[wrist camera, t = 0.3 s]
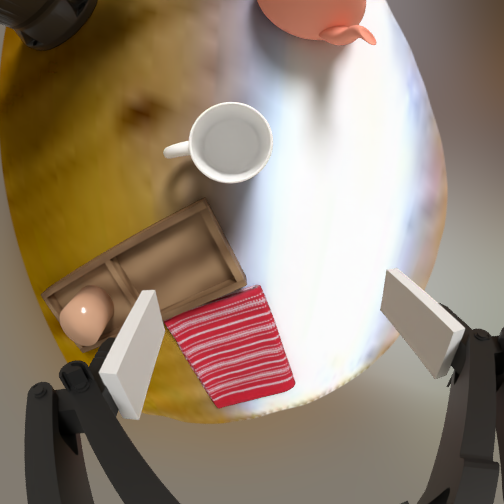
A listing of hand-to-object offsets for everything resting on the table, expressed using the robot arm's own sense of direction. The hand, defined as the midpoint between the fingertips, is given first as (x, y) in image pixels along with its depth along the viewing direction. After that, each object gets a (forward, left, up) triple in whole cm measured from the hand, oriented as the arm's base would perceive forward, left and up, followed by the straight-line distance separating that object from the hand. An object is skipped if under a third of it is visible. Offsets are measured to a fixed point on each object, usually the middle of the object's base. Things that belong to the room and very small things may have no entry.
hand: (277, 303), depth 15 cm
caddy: (+2, -21, -25) cm, 33 cm away
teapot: (-25, +21, -26) cm, 41 cm away
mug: (-10, 0, -26) cm, 27 cm away
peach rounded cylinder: (+2, -29, -24) cm, 38 cm away
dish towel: (+22, -13, -26) cm, 36 cm away
